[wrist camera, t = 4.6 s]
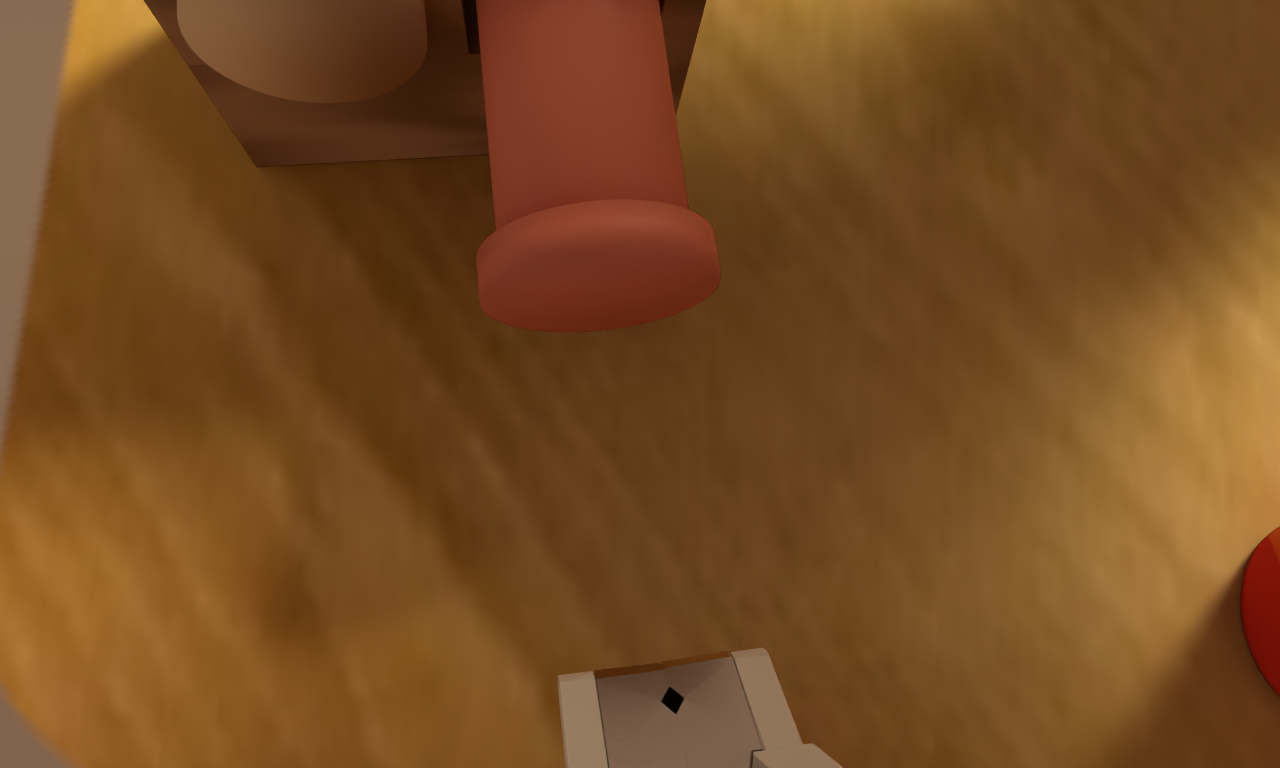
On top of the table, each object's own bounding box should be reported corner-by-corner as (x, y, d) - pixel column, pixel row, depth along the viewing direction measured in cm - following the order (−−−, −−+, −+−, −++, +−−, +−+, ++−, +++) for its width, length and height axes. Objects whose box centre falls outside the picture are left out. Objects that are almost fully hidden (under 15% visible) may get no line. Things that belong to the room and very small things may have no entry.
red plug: (638, -97, 20) (662, -280, 16) (698, 322, 18) (745, 236, 14) (452, -93, 20) (426, -283, 15) (488, 339, 17) (468, 256, 13)
